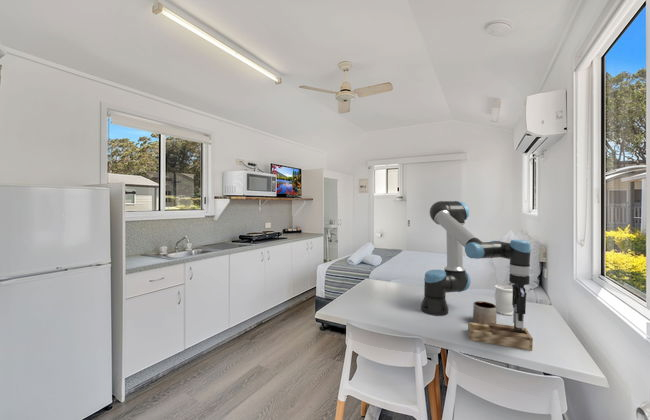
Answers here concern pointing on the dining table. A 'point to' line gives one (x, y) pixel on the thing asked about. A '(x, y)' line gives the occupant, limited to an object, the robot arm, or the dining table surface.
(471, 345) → the dining table surface
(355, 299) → the dining table surface
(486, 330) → the rail
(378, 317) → the dining table surface
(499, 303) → the jar
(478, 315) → the planter
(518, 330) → the metal hex bolt
